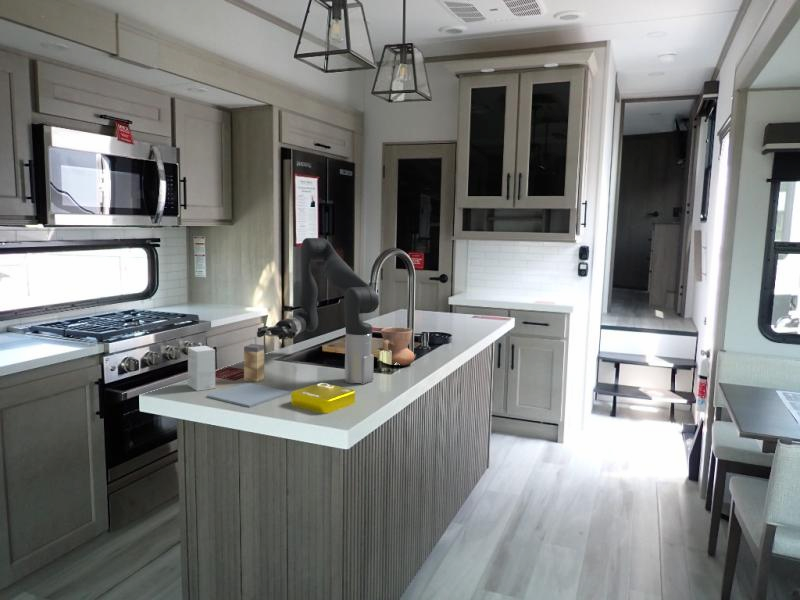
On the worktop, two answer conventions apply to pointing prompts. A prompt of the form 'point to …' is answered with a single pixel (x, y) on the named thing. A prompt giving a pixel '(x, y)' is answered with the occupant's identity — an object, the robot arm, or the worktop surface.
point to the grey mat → (248, 394)
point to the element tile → (323, 398)
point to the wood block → (253, 362)
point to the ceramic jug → (398, 344)
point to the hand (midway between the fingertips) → (268, 335)
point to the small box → (201, 368)
